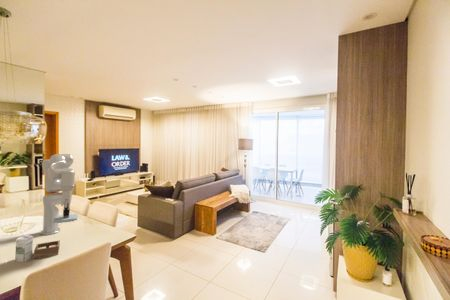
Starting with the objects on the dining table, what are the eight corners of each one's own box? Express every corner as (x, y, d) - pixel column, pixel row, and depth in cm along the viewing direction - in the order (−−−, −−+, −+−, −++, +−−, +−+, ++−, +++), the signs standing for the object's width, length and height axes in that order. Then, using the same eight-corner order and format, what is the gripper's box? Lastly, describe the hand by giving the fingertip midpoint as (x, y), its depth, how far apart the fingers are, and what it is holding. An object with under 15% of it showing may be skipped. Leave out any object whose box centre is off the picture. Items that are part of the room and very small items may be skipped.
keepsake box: (36, 253, 139) (36, 244, 139) (59, 248, 146) (59, 240, 146) (33, 260, 131) (34, 250, 131) (58, 255, 138) (58, 246, 138)
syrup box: (32, 257, 134) (33, 235, 134) (24, 262, 128) (25, 239, 128) (23, 257, 134) (24, 234, 134) (14, 262, 128) (15, 239, 128)
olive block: (37, 254, 137) (37, 248, 137) (45, 252, 140) (45, 246, 140) (38, 256, 134) (38, 250, 134) (46, 254, 137) (46, 248, 137)
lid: (55, 219, 145) (55, 204, 145) (77, 216, 152) (78, 202, 152) (53, 224, 136) (53, 208, 136) (77, 221, 143) (77, 206, 143)
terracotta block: (48, 251, 141) (49, 245, 141) (56, 250, 143) (56, 244, 143) (48, 254, 138) (48, 248, 137) (56, 252, 140) (56, 247, 140)
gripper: (61, 186, 148) (60, 212, 148) (59, 190, 135) (57, 219, 135) (74, 185, 152) (73, 210, 153) (73, 190, 139) (72, 217, 139)
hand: (66, 214), depth 144 cm, fingers closed on lid, 3 cm apart
